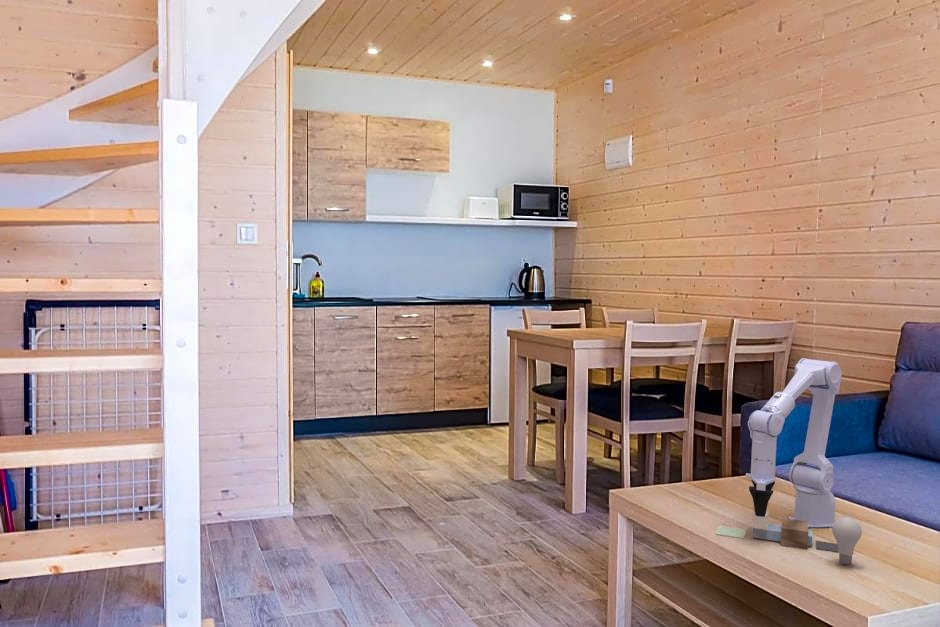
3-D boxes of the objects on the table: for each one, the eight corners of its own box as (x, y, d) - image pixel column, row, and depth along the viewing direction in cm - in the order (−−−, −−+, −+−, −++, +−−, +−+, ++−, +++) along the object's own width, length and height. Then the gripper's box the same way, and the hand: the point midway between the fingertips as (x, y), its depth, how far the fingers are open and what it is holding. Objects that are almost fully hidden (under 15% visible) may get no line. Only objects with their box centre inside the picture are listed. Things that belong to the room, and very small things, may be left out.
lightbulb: (826, 564, 176) (828, 517, 176) (836, 557, 180) (838, 511, 180) (854, 571, 172) (856, 523, 171) (863, 565, 176) (866, 518, 175)
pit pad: (842, 545, 189) (842, 544, 189) (843, 553, 183) (843, 552, 183) (816, 541, 191) (816, 540, 191) (816, 549, 186) (816, 548, 186)
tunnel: (807, 538, 193) (808, 521, 193) (807, 549, 185) (808, 531, 185) (781, 534, 196) (782, 517, 196) (780, 545, 188) (781, 527, 187)
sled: (811, 539, 191) (812, 516, 191) (811, 546, 187) (813, 522, 186) (753, 531, 197) (754, 508, 196) (752, 537, 192) (753, 513, 192)
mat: (746, 530, 198) (746, 529, 198) (744, 538, 192) (744, 537, 192) (718, 526, 201) (718, 525, 201) (715, 534, 195) (715, 533, 195)
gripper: (748, 451, 201) (746, 502, 202) (744, 462, 188) (742, 517, 188) (777, 454, 198) (775, 506, 199) (775, 466, 185) (772, 521, 186)
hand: (761, 511), depth 193 cm, fingers open, 7 cm apart
